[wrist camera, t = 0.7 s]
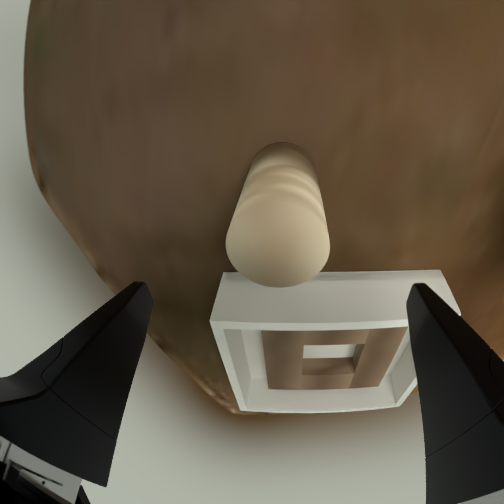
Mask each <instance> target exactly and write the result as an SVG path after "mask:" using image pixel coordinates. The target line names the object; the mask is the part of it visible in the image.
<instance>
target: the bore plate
mask: <svg viewBox="0 0 504 504" xmlns="http://www.w3.org/2000/svg"><path fill="white" fill-rule="evenodd" d="M407 328H408V326H407V327H393V328H377V329H356V330H320V331H279V330H261V335H262V343H263V351H264V359H265V367H266V375H267V383H268V389H277V390H329V389H351V388H366V387H378V386H379V384H380V382H381V381H382V379H383V377H384V375H385V373H386V371H387V369H388V367H389V366H390V364H391V362H392V360H393V358H394V356H395V354H396V352H397V350H398V348H399V345H400V343H401V341H402V339H403V337H404V335H405V333H406V330H407ZM347 344H356V348H355V351H354V354H353V357H342V358H303V349H304V345H347Z"/></svg>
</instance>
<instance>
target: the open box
mask: <svg viewBox="0 0 504 504" xmlns="http://www.w3.org/2000/svg"><path fill="white" fill-rule="evenodd" d="M414 283H425V284H427V285H428V286H429V287H430V288H431V289H432V290H433V291H434V292H435V293H436V294H438V295H439V296H440V297H441V298H442V299H443V300H444V301H445V302H446V303H447V304H448V305H449V306H450V307H451V308H452V309H453V310H454V311H455V312H456V313H457V314H458V315H459V316H461V312H460V310H459V308H458V305H457V303H456V301H455V299H454V297H453V295H452V292H451V290H450V288H449V286H448V284H447V282H446V280H445V278H444V276H443V274H442V272H441V270H440V269H438V270H405V271H360V272H319V273H318V274H317V275H316V276H314V277H313V278H311V279H310V280H308V281H306V282H304V283H302V284H299V285H296V286H292V287H283V288H276V287H267V286H263V285H260V284H257V283H255V282H253V281H250V280H249V279H247V278H245V277H244V276H243V275H241V274H240V273H239V272H223V275H222V279H221V282H220V285H219V289H218V292H217V296H216V299H215V303H214V306H213V310H212V313H211V317H210V320H209V321H210V324H211V327H212V330H213V333H214V337H215V340H216V343H217V346H218V349H219V352H220V355H221V358H222V361H223V363H224V366H225V369H226V372H227V375H228V378H229V381H230V383H231V386H232V389H233V392H234V394H235V397H236V400H237V403H238V405H239V408H240V410H242V411H256V412H276V413H328V412H349V411H362V410H374V409H383V408H391V407H399V406H400V405H401V404H402V403H403V402H404V400H405V399H406V398H407V397H408V395H409V394H410V393H411V391H412V390H413V389H414V387H415V386H416V385H417V377H416V372H415V366H414V361H413V356H412V350H411V343H410V334H409V325H408V317H407V310H406V302H407V298H408V296H409V293H410V290H411V287H412V285H413V284H414ZM407 326H408V328H407V330H406V333H405V335H404V337H403V339H402V341H401V343H400V345H399V348H398V350H397V352H396V354H395V356H394V358H393V360H392V362H391V364H390V366H389V367H388V369H387V371H386V373H385V375H384V377H383V379H382V381H381V382H380V384H379V386H378V387H366V388H351V389H329V390H277V389H268V383H267V375H266V367H265V359H264V351H263V343H262V335H261V330H279V331H320V330H356V329H377V328H393V327H407ZM355 348H356V344H347V345H304V349H303V358H342V357H353V354H354V351H355Z"/></svg>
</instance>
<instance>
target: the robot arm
mask: <svg viewBox="0 0 504 504" xmlns="http://www.w3.org/2000/svg"><path fill="white" fill-rule="evenodd" d="M152 306H153V299H152V296H151V294H150V291H149V289H148V287H147V285H146V283H145V282H137V281H136V282H133V283H132V284H130V285H129V286H128V287H126V288H125V289H124V290H122V291H121V292H120V293H118V294H117V295H116V296H114V298H112V299H110V300H109V301H108V302H107V303H105V304H104V305H103V306H101V307H100V308H99V309H98V310H96V311H95V312H94V313H92V314H91V315H90V316H89V317H87V318H86V319H85V320H84V321H82V322H81V323H80V324H79V325H77V326H76V327H75V328H74V329H72V330H71V331H70V332H69V333H67V334H66V335H65V336H64V338H61V339H60V340H59V341H58V342H56V343H55V344H54V345H53V346H51V347H50V348H49V349H48V350H46V351H45V352H44V353H42V354H41V355H40V356H38V357H37V358H35V359H34V360H33V361H31V362H30V363H28V364H27V365H26V366H25V367H23V368H22V369H20V370H19V371H17V372H16V373H15V374H13V375H10V376H8V377H2V378H0V504H90V502H89V500H88V498H87V496H86V493H85V491H84V489H83V487H82V485H80V484H81V481H82V479H85V480H87V481H90V482H92V483H95V484H98V485H100V486H103V487H106V486H107V482H108V478H109V473H110V468H111V464H112V459H113V455H114V450H115V446H116V440H117V437H118V433H119V429H120V425H121V421H122V417H123V413H124V410H125V406H126V402H127V399H128V394H129V392H130V388H131V384H132V381H133V378H134V374H135V371H136V367H137V364H138V361H139V358H140V355H141V351H142V348H143V345H144V342H145V338H146V333H147V329H148V324H149V320H150V315H151V311H152ZM406 310H407V317H408V325H409V334H410V343H411V350H412V356H413V361H414V366H415V372H416V377H417V384H418V390H419V397H420V404H421V412H422V421H423V430H424V442H425V457H426V459H425V460H426V504H458V503H460V504H504V362H503V361H502V359H501V358H500V357H499V356H498V355H497V354H496V353H495V352H494V351H493V350H492V349H490V347H489V345H488V344H487V343H486V342H485V341H484V340H483V339H482V338H481V337H480V336H479V335H478V334H477V333H476V332H475V331H474V330H473V329H472V328H471V327H470V326H469V325H468V324H467V323H466V322H465V321H464V320H463V319H462V318H461V317H460V316H459V315H458V314H457V313H456V312H455V311H454V310H453V309H452V308H451V307H450V306H449V305H448V304H447V303H446V302H445V301H444V300H443V299H442V298H441V297H440V296H439V295H438V294H436V293H435V292H434V291H433V290H432V289H431V288H430V287H429V286H428V285H427V284H425V283H414V284H413V285H412V287H411V290H410V293H409V296H408V298H407V302H406Z"/></svg>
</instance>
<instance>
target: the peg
mask: <svg viewBox="0 0 504 504" xmlns="http://www.w3.org/2000/svg"><path fill="white" fill-rule="evenodd" d="M226 251H227V255H228V257H229V260H230V262H231V263H232V265H233V266H234V267H235V269H236V270H237V271H238V272H239V273H240V274H241V275H243V276H244V277H245V278H247V279H249V280H250V281H253V282H255V283H257V284H260V285H263V286H267V287H276V288H283V287H292V286H296V285H299V284H302V283H304V282H306V281H308V280H310V279H311V278H313V277H314V276H316V275H317V274H318V273H319V272H320V271H321V270H322V268H323V267H324V265H325V264H326V262H327V260H328V256H329V252H330V241H329V235H328V230H327V224H326V219H325V214H324V209H323V204H322V199H321V194H320V189H319V185H318V180H317V176H316V171H315V167H314V163H313V161H312V159H311V157H310V156H309V154H308V153H307V152H306V151H305V150H304V149H302V148H301V147H299V146H297V145H295V144H292V143H287V142H278V143H273V144H270V145H267V146H266V147H264V148H263V149H261V150H260V151H259V152H258V153H257V154H256V156H255V157H254V159H253V162H252V164H251V167H250V170H249V172H248V175H247V178H246V181H245V184H244V186H243V189H242V192H241V195H240V198H239V201H238V204H237V206H236V209H235V212H234V215H233V218H232V221H231V224H230V227H229V230H228V233H227V237H226Z"/></svg>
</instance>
